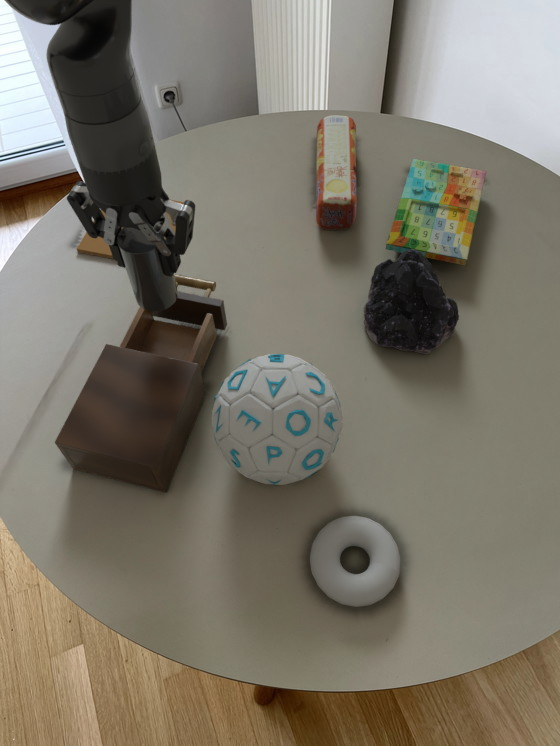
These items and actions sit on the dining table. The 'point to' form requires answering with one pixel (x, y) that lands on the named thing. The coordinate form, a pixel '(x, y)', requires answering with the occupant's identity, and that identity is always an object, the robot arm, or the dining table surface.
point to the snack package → (336, 173)
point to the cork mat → (99, 246)
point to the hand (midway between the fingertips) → (148, 266)
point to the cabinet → (133, 417)
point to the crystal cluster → (409, 305)
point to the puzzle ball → (276, 419)
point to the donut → (343, 583)
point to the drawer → (175, 337)
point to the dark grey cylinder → (146, 271)
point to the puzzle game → (437, 211)
